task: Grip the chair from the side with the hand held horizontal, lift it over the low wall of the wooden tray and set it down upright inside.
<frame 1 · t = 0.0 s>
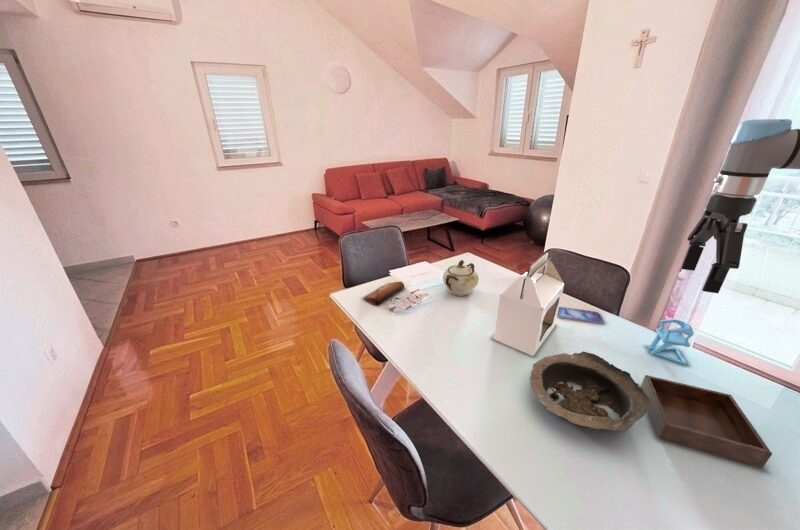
hand: (697, 279, 79), 30 cm above the table, tool pointing down, fingers open, 13 cm apart
gable box: (524, 333, 109), on the table
smartphone: (578, 316, 118), on the table
chair: (664, 355, 98), on the table
sugar bowl: (459, 291, 136), on the table
wooden tray: (692, 424, 75), on the table
sunglasses case: (384, 295, 134), on the table
stone bowl: (576, 407, 80), on the table
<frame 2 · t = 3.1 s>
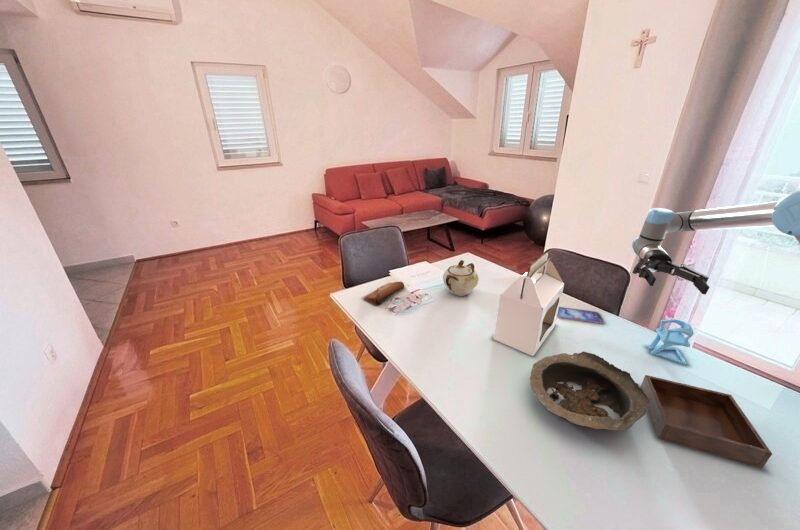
hand: (679, 286, 96), 20 cm above the table, tool horizontal, fingers open, 13 cm apart
nothing on the table moved.
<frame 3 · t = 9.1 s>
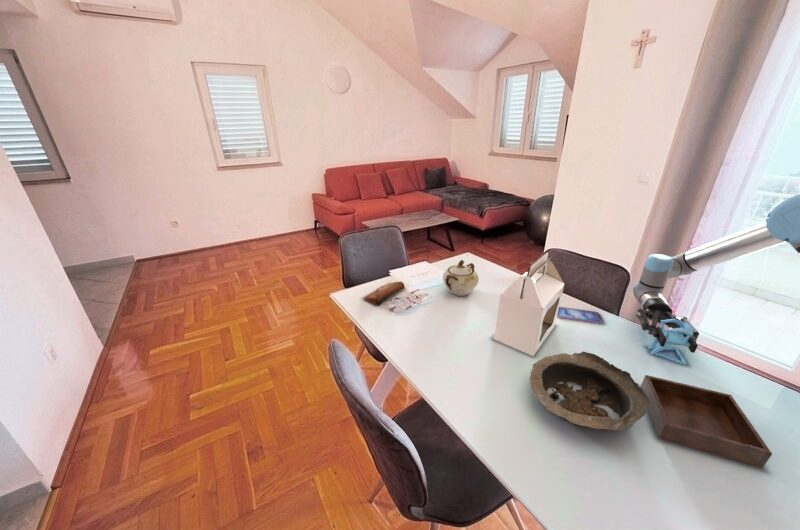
hand: (678, 345, 91), 7 cm above the table, tool horizontal, fingers closed on chair, 6 cm apart
chair: (664, 355, 98), on the table, touching gripper
everything else where it was.
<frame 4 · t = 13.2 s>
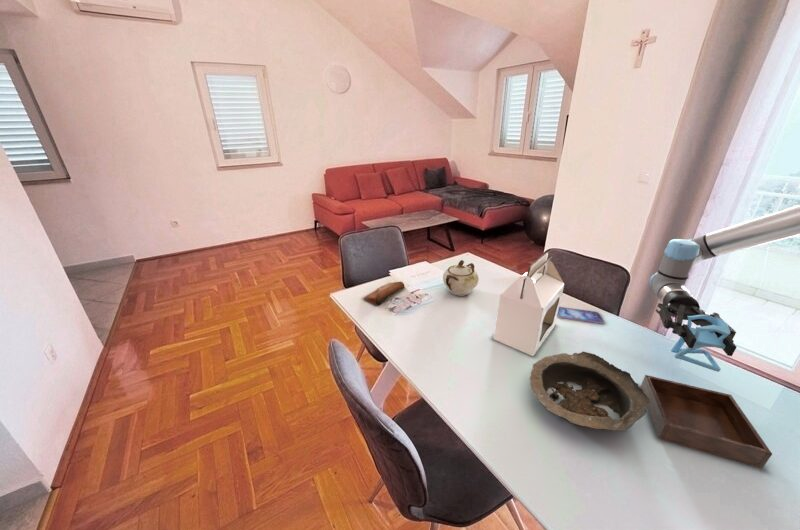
hand: (711, 347, 74), 18 cm above the table, tool horizontal, fingers closed on chair, 6 cm apart
chair: (691, 358, 81), point 10 cm above the table, touching gripper
everything else where it was.
when the fingers open (8 cm above the table, at t = 17.8 s): chair stays where it is, resting on wooden tray.
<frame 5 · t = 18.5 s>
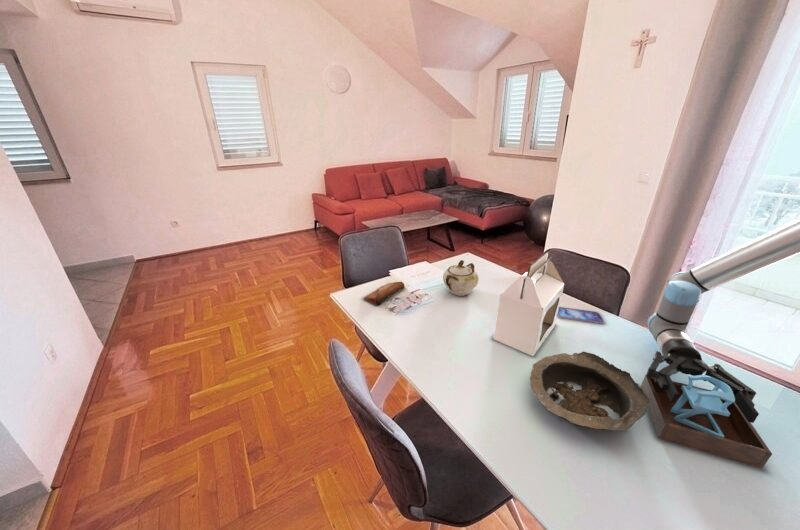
hand: (712, 407, 69), 9 cm above the table, tool horizontal, fingers open, 13 cm apart
chair: (692, 421, 75), point 1 cm above the table, touching wooden tray
everything else where it was.
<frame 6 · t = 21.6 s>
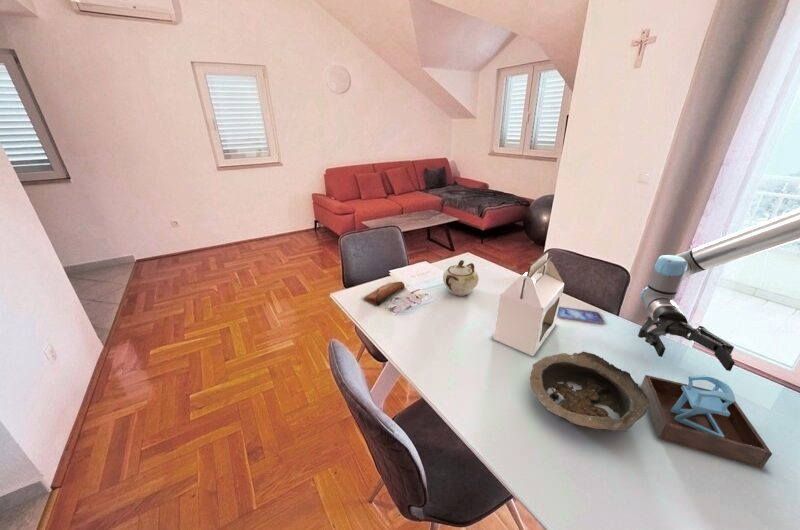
hand: (695, 359, 78), 12 cm above the table, tool horizontal, fingers open, 13 cm apart
nothing on the table moved.
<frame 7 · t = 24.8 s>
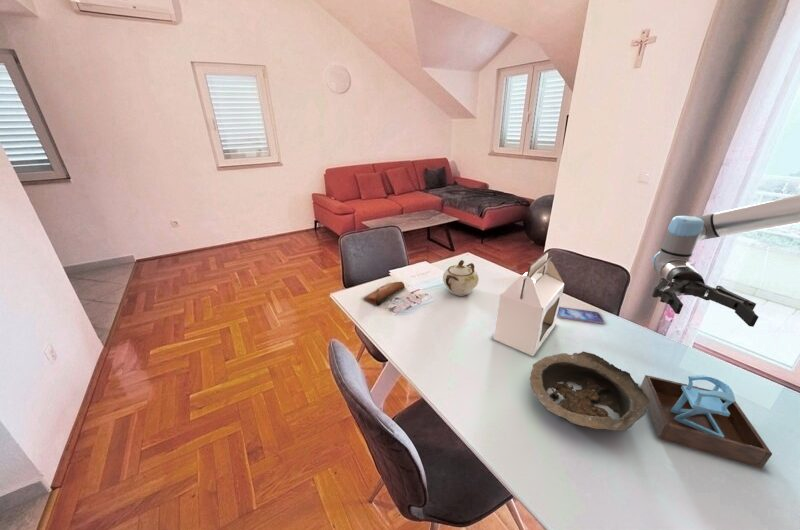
hand: (715, 315, 73), 25 cm above the table, tool horizontal, fingers open, 13 cm apart
nothing on the table moved.
at the end: chair inside the target area in the wooden tray (0.1 cm from its centre), point 0.8 cm above the wooden tray's base; chair tilted 0°; the gripper is holding nothing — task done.
